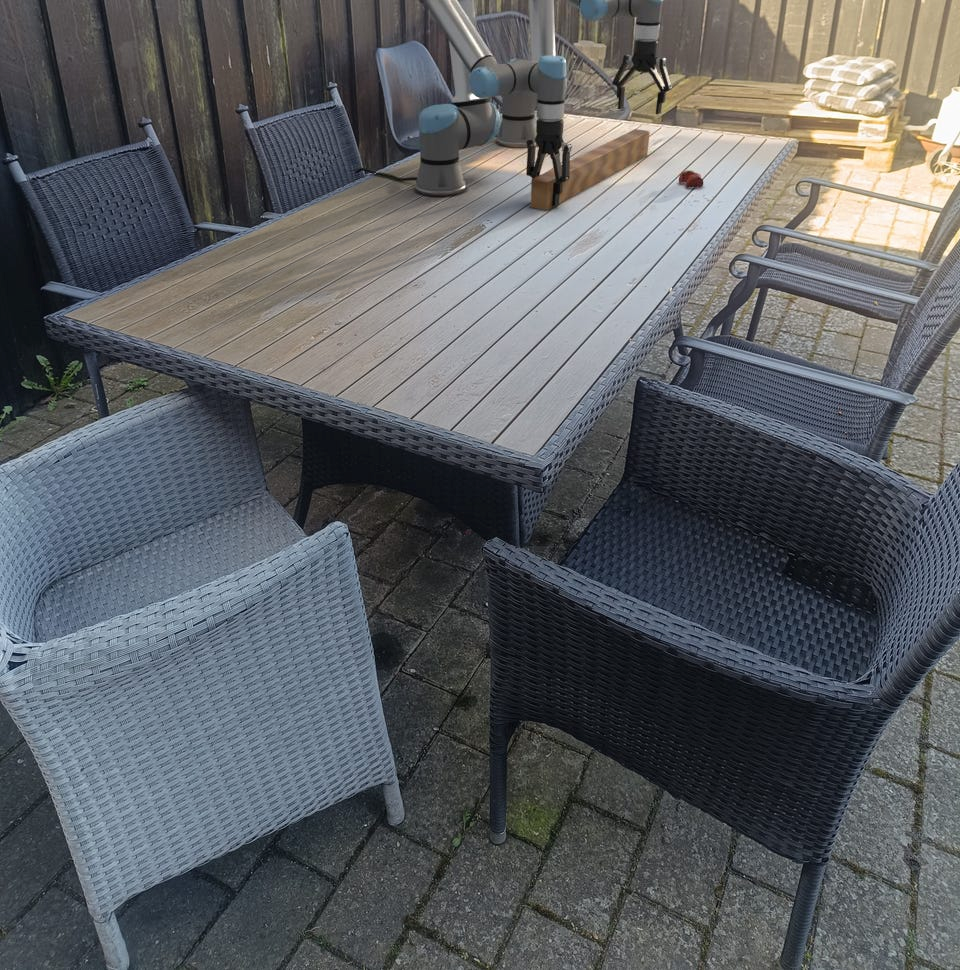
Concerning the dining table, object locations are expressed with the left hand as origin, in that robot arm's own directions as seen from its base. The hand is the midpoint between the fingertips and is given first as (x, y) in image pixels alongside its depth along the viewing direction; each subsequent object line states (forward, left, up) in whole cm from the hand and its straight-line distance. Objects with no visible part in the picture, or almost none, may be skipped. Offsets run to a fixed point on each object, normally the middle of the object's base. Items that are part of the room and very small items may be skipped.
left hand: (546, 203), depth 246 cm
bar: (-3, +31, -1) cm, 31 cm away
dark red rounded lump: (+24, +44, -1) cm, 50 cm away
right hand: (-7, +62, +14) cm, 64 cm away
